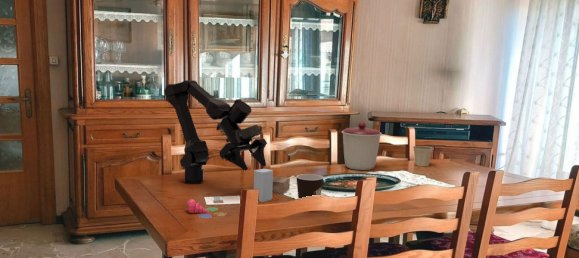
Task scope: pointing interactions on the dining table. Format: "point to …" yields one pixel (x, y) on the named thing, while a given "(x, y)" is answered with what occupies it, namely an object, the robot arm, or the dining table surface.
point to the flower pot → (422, 155)
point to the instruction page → (222, 200)
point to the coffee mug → (309, 185)
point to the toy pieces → (201, 209)
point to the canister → (360, 147)
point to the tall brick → (264, 184)
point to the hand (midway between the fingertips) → (256, 167)
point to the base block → (280, 184)
